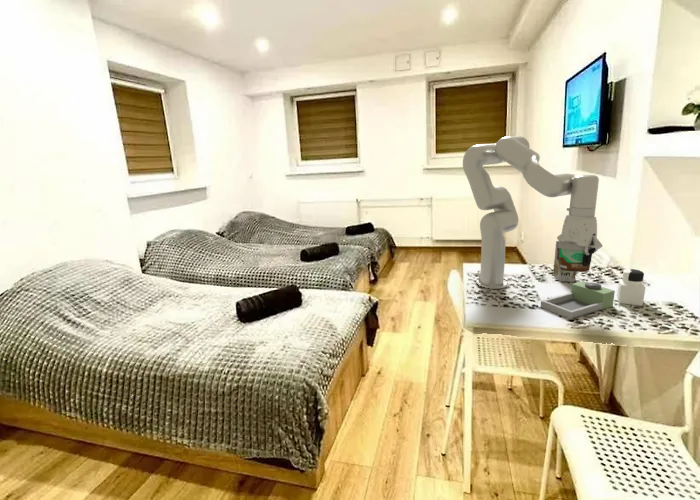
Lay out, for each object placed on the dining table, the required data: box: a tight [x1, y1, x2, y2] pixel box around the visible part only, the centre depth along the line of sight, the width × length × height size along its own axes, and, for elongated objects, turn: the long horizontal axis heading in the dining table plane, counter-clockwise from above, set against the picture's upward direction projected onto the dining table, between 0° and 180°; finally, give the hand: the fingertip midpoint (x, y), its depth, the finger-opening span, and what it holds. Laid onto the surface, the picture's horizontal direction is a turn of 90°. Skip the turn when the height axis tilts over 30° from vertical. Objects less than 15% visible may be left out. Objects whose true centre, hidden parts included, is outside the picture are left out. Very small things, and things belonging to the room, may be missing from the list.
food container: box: [557, 242, 595, 273], centre depth 130 cm, size 12×6×10 cm, turn 88°
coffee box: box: [552, 240, 577, 283], centre depth 164 cm, size 9×6×16 cm
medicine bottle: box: [616, 268, 646, 307], centre depth 137 cm, size 7×7×12 cm
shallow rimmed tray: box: [540, 281, 616, 320], centre depth 136 cm, size 12×22×7 cm, turn 114°
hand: (576, 262), depth 131 cm, fingers closed on food container, 6 cm apart
